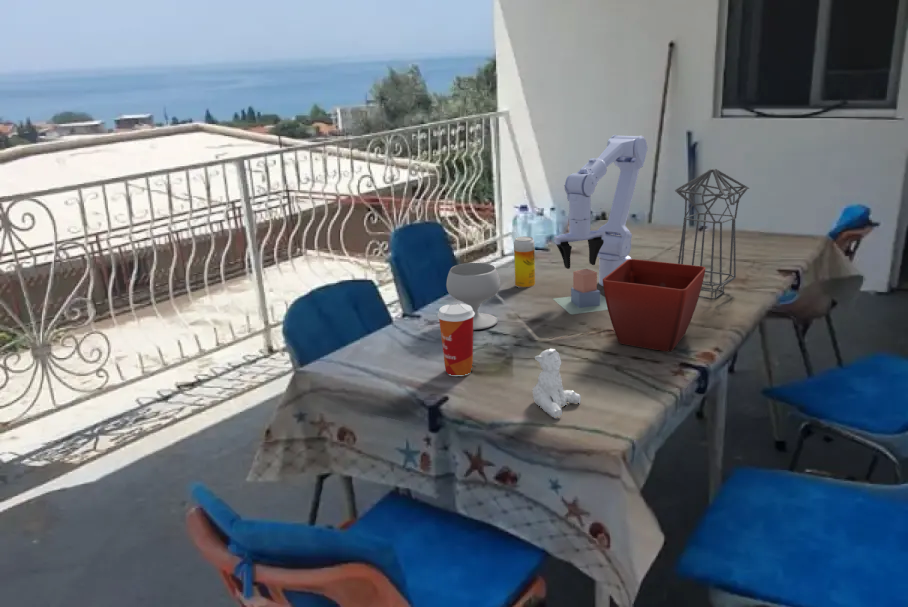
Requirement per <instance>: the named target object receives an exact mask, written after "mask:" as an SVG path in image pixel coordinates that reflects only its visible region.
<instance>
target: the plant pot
mask: <svg viewBox="0 0 908 607" xmlns="http://www.w3.org/2000/svg"><path fill="white" fill-rule="evenodd" d="M705 270H707V269H706V267H705V266H703V265H702V266H700V265H695V264H694V265H692V264H684V263H683V264H681V263H680V264H678V263H673V262H663V261H656V260H647V259H646V260H645V259H634V258H631V259H628V260H626V261H625V262H624V263H623V264H621V265H620V266H619V267H618V268H616V269H615V270H614V271H613V272H611V273H610V274H609V275H607V276H606V277H605V278H603V286H602V287H603V293H604V297H605V299H606V303H607V308H608V310H607V313H608V315H609V317H610V318H609V319H610V321H611V326H612V328H613V331H614V334H615V336H616V339H617V341H618V343H619V344H621V345H625V346H630V347H637V348H643V349H648V350H649V349H650V350H655V351H662V352H672V351H674V349H675V348H676V346H677V345H678V344H679V343H680V341H681V340H682V339H683V338H684V336H685V335H686V332H687V330H688V329H689V325H690V323H691V320H692V318H693V315H694V314H695V313H694V312H695V310H696V307H697V304H698V300H699V298H700V297H699V296H701V295H700V294H701V291H702V290H701V289H702V288H701V287H703V285H702V283H704V282H703V281H704V279H705V275H706V272H705Z"/></svg>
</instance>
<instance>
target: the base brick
mask: <svg viewBox="0 0 908 607" xmlns="http://www.w3.org/2000/svg"><path fill="white" fill-rule="evenodd" d="M600 294H601V291H600V290H599V289H597V290H594V291H590V292H585V293H582V292H580V291H577V290H575V289H573V286H572V287H571V288H570V296H571V302H573V303H574V304H575V305H576V306H577V307H579V308H583V307H591V306H599V305H600Z"/></svg>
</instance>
